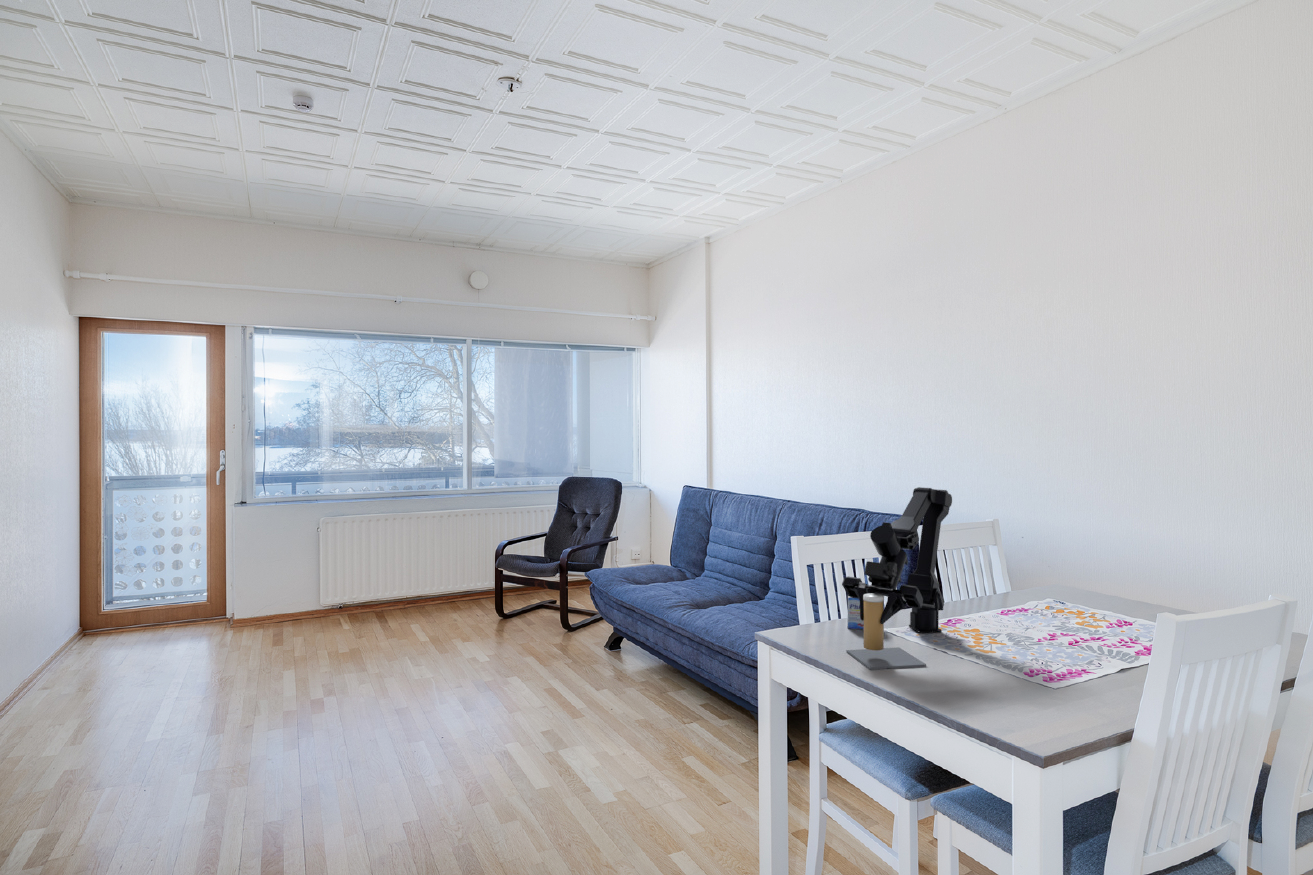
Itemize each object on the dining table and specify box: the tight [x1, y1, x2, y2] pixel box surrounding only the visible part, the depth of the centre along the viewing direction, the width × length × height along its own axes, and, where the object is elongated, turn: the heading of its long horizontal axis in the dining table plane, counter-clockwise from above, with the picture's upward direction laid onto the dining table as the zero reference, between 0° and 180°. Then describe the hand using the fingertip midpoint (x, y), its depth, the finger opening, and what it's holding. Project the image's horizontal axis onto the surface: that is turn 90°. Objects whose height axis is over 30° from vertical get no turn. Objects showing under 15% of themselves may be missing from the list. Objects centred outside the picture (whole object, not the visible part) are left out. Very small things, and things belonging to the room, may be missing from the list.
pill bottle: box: [863, 593, 885, 651], centre depth 174 cm, size 5×5×12 cm
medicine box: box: [847, 595, 864, 630], centre depth 201 cm, size 8×4×9 cm, turn 73°
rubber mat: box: [845, 646, 927, 671], centre depth 174 cm, size 14×13×1 cm
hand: (871, 621), depth 173 cm, fingers closed on pill bottle, 5 cm apart
